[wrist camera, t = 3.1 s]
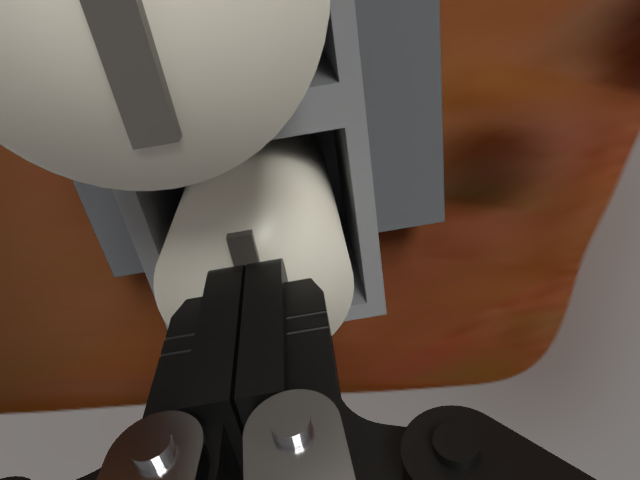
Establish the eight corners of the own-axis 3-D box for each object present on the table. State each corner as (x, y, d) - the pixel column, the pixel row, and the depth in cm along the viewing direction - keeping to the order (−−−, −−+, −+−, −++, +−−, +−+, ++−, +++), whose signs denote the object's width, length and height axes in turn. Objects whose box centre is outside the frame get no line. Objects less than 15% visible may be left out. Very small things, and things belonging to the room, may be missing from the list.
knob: (176, 127, 15) (121, 228, 9) (317, 103, 15) (342, 190, 9) (213, 247, 17) (184, 386, 11) (335, 226, 17) (364, 356, 11)
